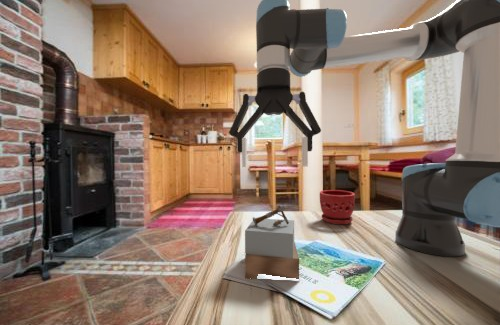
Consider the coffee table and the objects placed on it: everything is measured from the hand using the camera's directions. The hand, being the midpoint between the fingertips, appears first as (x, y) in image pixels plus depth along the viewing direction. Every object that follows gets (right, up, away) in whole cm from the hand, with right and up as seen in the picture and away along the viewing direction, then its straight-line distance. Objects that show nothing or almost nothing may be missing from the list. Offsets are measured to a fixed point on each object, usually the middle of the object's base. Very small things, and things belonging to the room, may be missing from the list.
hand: (274, 166), depth 48 cm
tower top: (-1, -18, +1) cm, 18 cm away
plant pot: (+29, -23, +37) cm, 53 cm away
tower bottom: (0, -23, +1) cm, 23 cm away
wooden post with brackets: (-1, -14, 0) cm, 14 cm away
